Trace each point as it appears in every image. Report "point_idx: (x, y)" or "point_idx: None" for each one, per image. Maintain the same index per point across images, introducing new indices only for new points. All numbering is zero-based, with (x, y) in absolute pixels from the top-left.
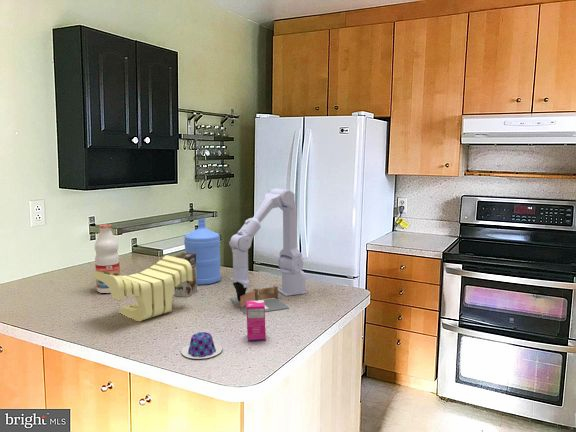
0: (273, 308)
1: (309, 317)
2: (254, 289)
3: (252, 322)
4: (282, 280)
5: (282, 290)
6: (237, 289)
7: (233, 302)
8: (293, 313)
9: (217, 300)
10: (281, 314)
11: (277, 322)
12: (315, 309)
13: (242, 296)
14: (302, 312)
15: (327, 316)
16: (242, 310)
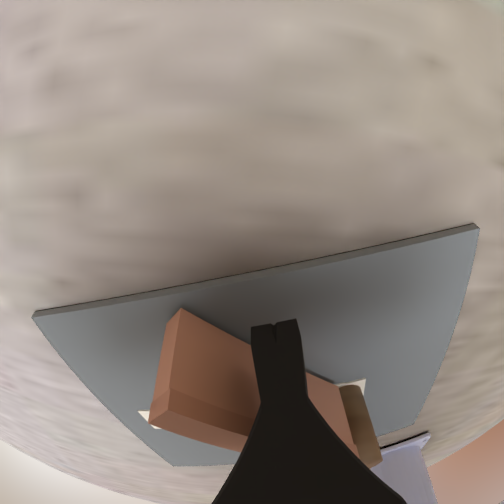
0: (158, 438)
1: (86, 464)
2: (366, 462)
3: None
4: (405, 496)
5: (394, 457)
6: (232, 480)
7: (393, 242)
8: (115, 456)
9: (497, 100)
10: (93, 435)
11: (3, 398)
12: (166, 486)
13: (156, 422)
14: (131, 469)
15: (106, 482)
16: (98, 308)
